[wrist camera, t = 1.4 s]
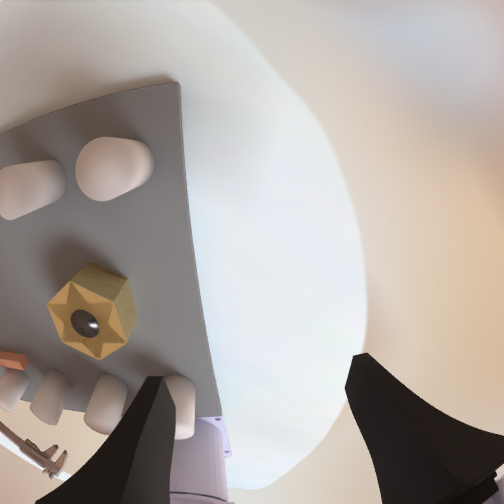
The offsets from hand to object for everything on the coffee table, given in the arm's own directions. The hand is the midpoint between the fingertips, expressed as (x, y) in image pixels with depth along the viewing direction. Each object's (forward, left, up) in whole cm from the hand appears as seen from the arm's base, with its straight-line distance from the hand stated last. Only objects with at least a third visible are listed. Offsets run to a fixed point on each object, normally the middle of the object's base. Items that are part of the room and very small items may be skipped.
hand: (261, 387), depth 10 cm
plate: (0, +16, -10) cm, 19 cm away
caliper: (-22, +37, -10) cm, 44 cm away
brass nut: (0, +10, -9) cm, 13 cm away
